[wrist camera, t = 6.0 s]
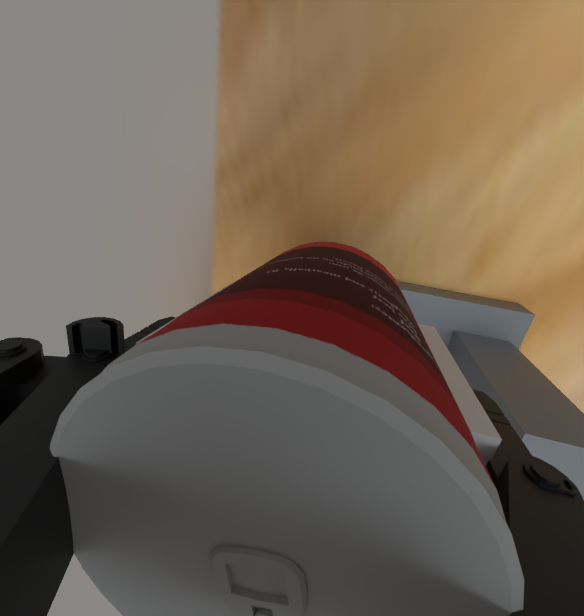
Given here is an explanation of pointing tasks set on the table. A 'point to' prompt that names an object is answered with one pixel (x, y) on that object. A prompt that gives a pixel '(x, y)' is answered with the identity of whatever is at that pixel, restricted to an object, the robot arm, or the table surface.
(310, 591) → the canned food
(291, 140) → the table surface
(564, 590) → the robot arm
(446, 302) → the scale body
